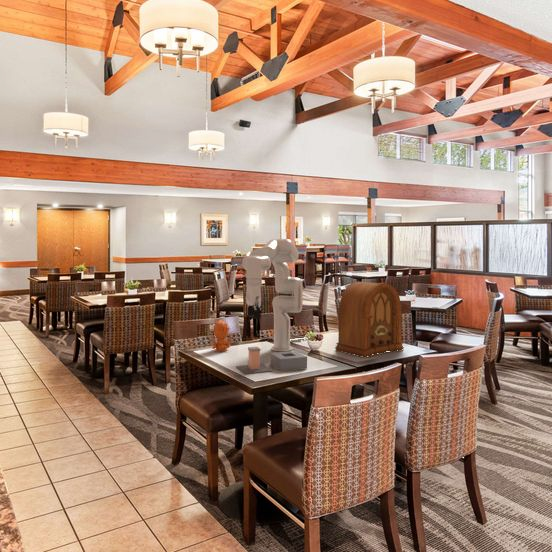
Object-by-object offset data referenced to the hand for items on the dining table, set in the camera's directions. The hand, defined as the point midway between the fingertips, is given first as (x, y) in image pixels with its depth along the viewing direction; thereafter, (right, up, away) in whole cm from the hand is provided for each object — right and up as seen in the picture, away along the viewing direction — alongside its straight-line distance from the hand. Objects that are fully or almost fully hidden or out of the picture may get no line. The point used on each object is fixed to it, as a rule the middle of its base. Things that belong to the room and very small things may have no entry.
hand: (254, 316), depth 234 cm
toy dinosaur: (-21, -24, +44) cm, 54 cm away
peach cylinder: (0, -25, +2) cm, 25 cm away
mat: (0, -26, +1) cm, 26 cm away
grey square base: (+17, -26, +7) cm, 32 cm away
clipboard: (+17, -22, +80) cm, 85 cm away
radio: (+65, -24, +45) cm, 83 cm away
